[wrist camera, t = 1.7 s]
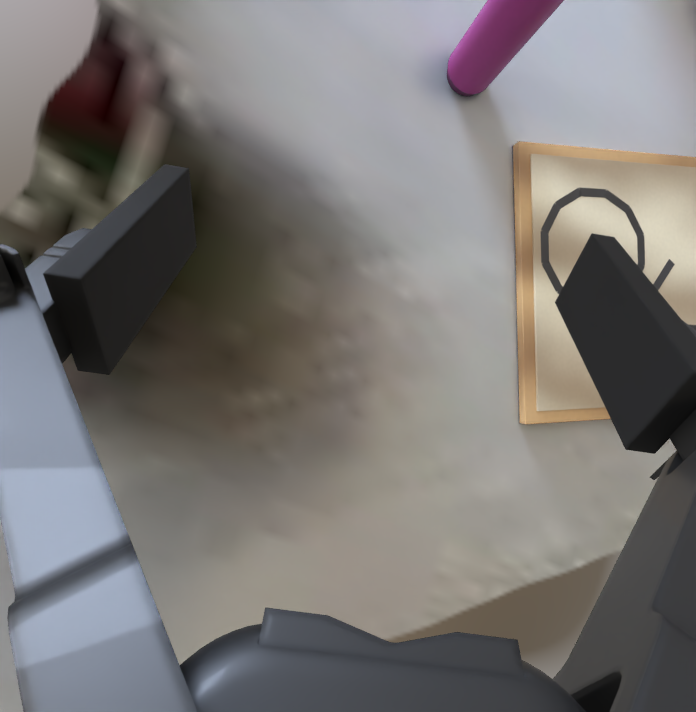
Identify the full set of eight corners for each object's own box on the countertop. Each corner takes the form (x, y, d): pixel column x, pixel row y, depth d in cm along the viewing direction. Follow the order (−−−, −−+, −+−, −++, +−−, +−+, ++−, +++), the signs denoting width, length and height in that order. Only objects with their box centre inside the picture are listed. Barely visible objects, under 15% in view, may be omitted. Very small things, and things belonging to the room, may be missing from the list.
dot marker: (442, 50, 35) (555, -128, 22) (485, 56, 35) (618, -113, 23) (443, 97, 35) (557, -54, 22) (486, 102, 35) (620, -41, 23)
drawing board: (512, 145, 36) (520, 139, 35) (714, 163, 40) (725, 158, 39) (519, 423, 36) (527, 425, 35) (720, 410, 40) (732, 411, 39)
